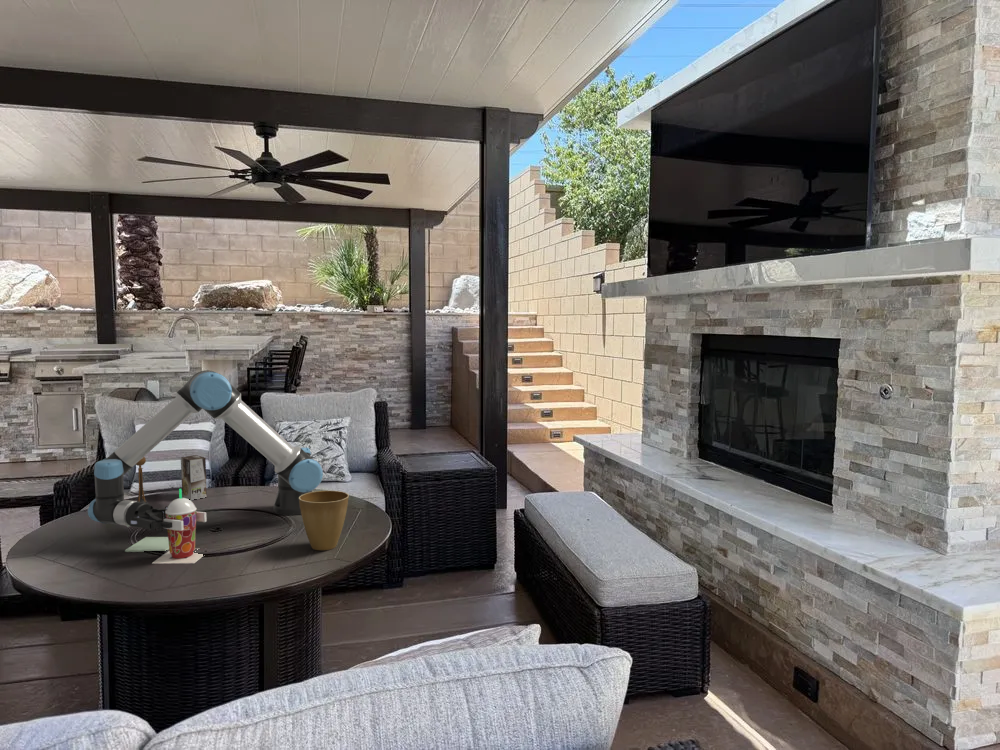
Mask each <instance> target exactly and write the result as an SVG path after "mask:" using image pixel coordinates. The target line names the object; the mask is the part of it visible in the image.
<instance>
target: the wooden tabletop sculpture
mask: <svg viewBox="0 0 1000 750" xmlns="http://www.w3.org/2000/svg"><path fill="white" fill-rule="evenodd" d="M146 462H147V459H146V457H145V456H144V457H143V458H142V459H141V460H140V461H138V462H137V463H136V464H135V465H136V466H138V468H137V470H138V471H137V473H138V474H137V475H138V495H137V500H136V501H137V502H146V503H149V502H148V501H147V500H146V498H145V491H144V486H143V485H144V483H143V482H144V477H143V469H144V468H143V467H142V466H144V465H145V464H146Z"/></svg>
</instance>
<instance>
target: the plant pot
mask: <svg viewBox="0 0 1000 750" xmlns="http://www.w3.org/2000/svg"><path fill="white" fill-rule="evenodd" d="M349 497H350V494H349V493H348V492H344V491H340V490H318V491H312V492H310V493H306V494H303V495H301V496H300V497H299V503H300V510H301V514H300V516H301V519H302V523H303V526H304V530H305V533H306V536H307V539H308V541H309V544H310V547H311V549H313V550H315V551H329V550H334V549H335V548H336V547H337V546H338V543H339V540H340V538H341V534H342V532H343V531H342V530H343V527H344V524H345V519H346V515H347V510H348V506H349V505H348V504H349Z"/></svg>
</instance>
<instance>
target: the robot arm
mask: <svg viewBox="0 0 1000 750" xmlns="http://www.w3.org/2000/svg"><path fill="white" fill-rule="evenodd" d="M202 410H204V412H206V413H207V414H208V415H209V416H210V417H212V418H213V419H214V420H222V421H224V422H225V423H226V424H227V425H228V426H229V427H230V428H231V429H232V430H234V431H235V432H236V433H237V434H238V435H239V436H240V437H242V438H243V439H244V440H245V441H246V442H247V443H249V444H250V445H251V446H252V447H253V448H254V449H255V450H257V451H258V452H259V453H260V454H261V455H262V456H264V457H265V458H266V460H268V461H269V462H270V463H271V464H272V465H274V472H275V473H276V474H277V485H278V486H277V488H278V489H277V493H276V498H275V500H274V502H273V512H274V513H275V514H277V515H282V516H283V515H284V516H296V515H301V510H300V503H299V497H300V496H301V495H303V494H306V493H310V492H313V491H314V490H315V489H316V488H317V487H318V486H319V485H320V484H321V482H322V481H323V477H324V476H323V475H324V472H323V468H322V466H321V464H320V463H319V462H318V461H317V460H315V459H314V458H312V452H311V448H309V447H305V446H304V447H300V446H293V445H291V444H290V443H289V442H288V441H287V440H286V439H285V438H284V437H283V436H281V435H280V434H279V433H278V432H277V431H276V430H275V429H274V428H273V427H272V426H270V425H269V424H268V423H267V422H266V421H265V420H264V419H263V418H262V417H261V416H259V415H258V414H257V413H256V412H255V411H254V410H253V409H252V408H250V407H249V405H247V404H246V403H245V402H244V401H243V400H242V393H241V392H240V391H239V390H238V389H237V388H236V387H235V386H234V385H233V384H231V382H229V380H228V379H227V378H226V377H225V376H224V375H223V374H220V373H218V372H216V371H213V370H209V369H206V370H200V371H198V372H196V373H195V374H193V375H192V376H191V377H190V378H189V380H188V381H187V382H186V383H185V384H184V385H183V386H182V387H181V388H180V389H179V390H178V391H176V393H175V397H174V398H173V399H172V400H171V401H170V402H169V403H167V405H165V406H164V407H163V408H162V409H161V410H159V412H157V413H156V414H155V415H154V416H153V417H151V419H150V420H148V421H147V422H146V423H145V424H144V425H143V426H141V427H140V428H139V429H138V430H137V431H136V432H134V434H132V435H131V436H130V437H129V438H127V440H126V441H124V442H123V443H122V444H121V445H120V446H119V447H118V448H116V449H115V450H114V451H113V452H112V453H110V455H108V456H107V457H106V458H104V459H102V460H99V461H97V462H95V464H94V470H93V475H94V487H95V488H94V489H95V498H94V499H93V500H92V501H90V503H89V507H88V508H87V515H88V517H89V519H91V520H92V521H94V522H98V523H100V524H105V525H106V524H108V525H117V526H125V527H126V528H130V527H132V528H133V527H134V528H140V529H145V530H149V531H156V530H158V532H163V531H164V530H163V529H165V530H167V529H172V530H179V531H182V530H184V527H183V521H181V520H173V519H166V514H165V511H166V510H167V508H168V506H169V505H166V506H164V508H159V507H153V505H152V504H151V503H149V502H148V503H146V502H137V501H138V500H128V499H127V500H126V499H125V492H124V491H125V489H124V475H125V474H126V473H128V472H129V471H130V470H131V469H132V468H133V467H134V466H135V465H136V463H137V462H138V461H140V460H141V459H142V458H143V457H145V456H147V455H148V454H149V453H150V452H151V451H152V450H154V448H155V447H157V446H158V445H159V444H160V443H162V441H164V439H166V438H167V437H168V436H169V435H171V434H172V432H174V431H175V430H176V429H177V428H178V427H179V426H180V425H182V423H184V422H185V421H186V420H188V418H189V417H190V416H192V415H193V414H198V413H200V411H202ZM207 521H208V520H207V512H205V511H197V510H196V522H202V523H206V522H207Z"/></svg>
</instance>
